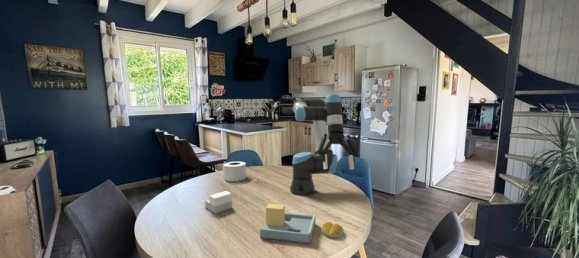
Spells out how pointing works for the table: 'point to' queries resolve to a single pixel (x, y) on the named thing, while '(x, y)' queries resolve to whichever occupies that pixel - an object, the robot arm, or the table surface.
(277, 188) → the table surface
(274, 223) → the ochre block
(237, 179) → the roll of tape
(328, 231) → the bread roll
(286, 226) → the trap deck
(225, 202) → the foam block
